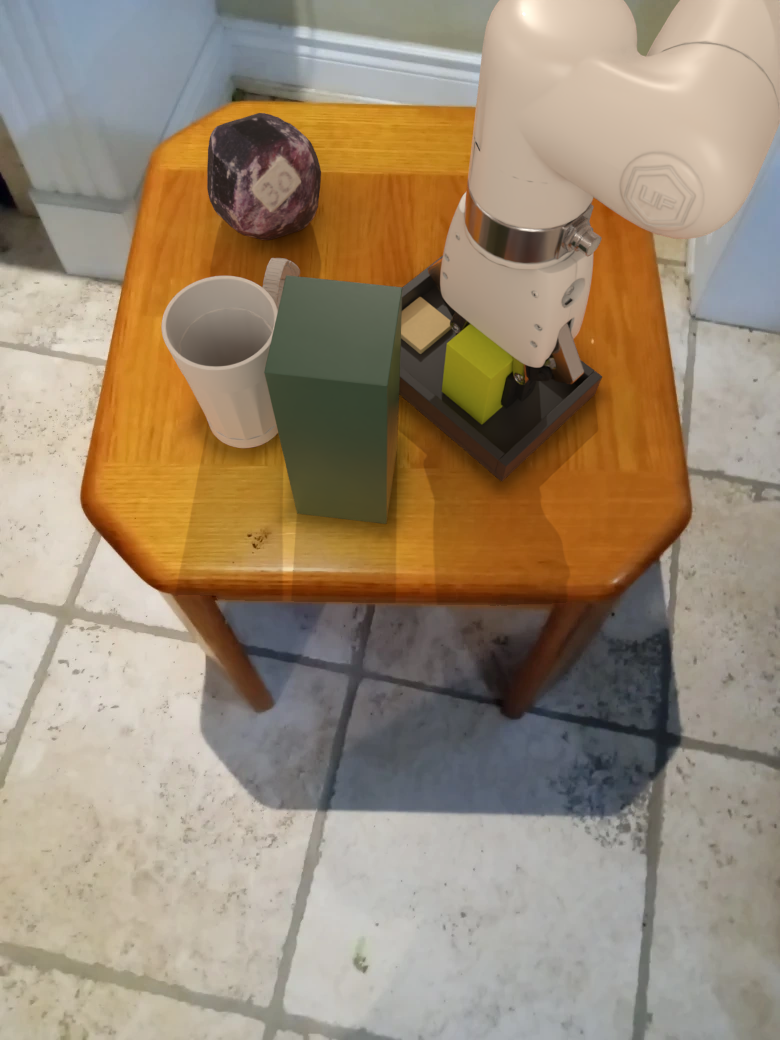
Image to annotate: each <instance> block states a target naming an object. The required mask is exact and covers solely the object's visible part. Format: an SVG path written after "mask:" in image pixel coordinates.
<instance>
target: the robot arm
mask: <svg viewBox="0 0 780 1040" xmlns="http://www.w3.org/2000/svg"><path fill="white" fill-rule="evenodd" d="M482 42H483V43H482V48H481V49H482V50H481V58H480V67H479V77H478V83H477V84H478V85H477V94H476V102H475V110H474V122H473V130H472V139H471V146H470V147H471V148H470V156H469V166H468V172H467V173H468V174H467V183H466V191H465V192H464V194H463V195H462V196H461V198H460V200H459V202H458V204H457V207H456V209H455V211H454V214H453V217H452V219H451V221H450V225H449V228H448V231H447V235H446V239H445V243H444V247H443V253H442V256H443V258H442V259H440V260H438V259H437V260H438V261H437V262H436V263H435V264H433V263H432V264H433V265H432V266H431V267H430V268H429V269H428V273H429V275H430V276H431V278H432V279H433V281H434V283H435V284H436V286H437V287H438V289H439V290H440V291H441V294H442V299H443V302H444V303H445V305H446V306H447V308H448V310H449V312H450V314H451V316H452V319H451V321H450V327H451V329H452V330H453V331H454V332H455V333H456V335H457V334H459V333H460V332H461V331H462V330H463V329H464V328H466V327H467V326H468V325H469V324H472V325H473V326H474V327H475V328H477V329H478V330H479V331H481V332H482V333H483V334H484V335H486V336H487V337H488V338H489V339H491V340H492V341H493V342H495V343H496V344H497V345H498V346H500V347H501V348H502V349H504V350H505V351H506V352H507V353H509V354H510V355H511V356H512V362H513V371H512V372H511V373H510V374H509V375H508V376H507V378H506V381H505V385H504V390H503V394H502V398H501V405H502V406H503V407H505V408H506V409H507V408H508V407H509V406H510V405H512V404H513V403H514V402H515V401H516V400H517V399H519V400H520V401H521V402H522V401H524V400H525V399H526V398H527V397H528V396H529V395H530V394H531V393H532V392H533V390H534V388H535V384H536V381H549V380H550V379H553V380H554V381H556V382H561V383H566V384H573V383H574V382H575V381H576V380H577V379H578V378H579V377H580V376H581V375H582V374H583V373H584V369H583V367H582V364H581V361H582V360H581V357H580V354H579V352H578V349H577V346H576V343H575V340H574V339H575V338H576V337H577V336H578V334H579V333H580V330H581V328H582V325H583V322H584V317H585V313H586V310H587V306H588V301H589V296H590V291H591V286H592V279H593V269H594V252H596V250H597V249H598V248H599V245H600V244H601V241H602V236H600V235H599V234H598V233H597V232H594V228H593V227H592V226H591V225H592V224H591V222H590V221H591V218H592V213H593V210H594V207H595V206H594V205H593V201H594V199H595V200H597V201H599V202H600V203H601V204H603V205H604V206H605V207H606V208H608V209H610V210H611V211H613V212H614V213H616V214H617V215H619V216H620V217H622V218H623V219H625V220H627V221H628V222H630V223H632V224H633V225H635V226H637V227H638V228H640V229H643V230H645V231H647V232H649V233H652V234H655V235H657V236H662V237H666V238H670V239H675V240H689V239H690V240H691V239H698V238H701V237H704V236H707V235H711V234H713V233H714V232H716V231H718V230H719V229H721V228H723V227H724V226H725V225H726V224H728V222H730V221H731V220H733V218H734V217H735V216H736V215H737V213H738V212H739V211H741V208H742V207H743V205H744V204H745V202H746V200H747V198H748V197H749V195H750V193H751V191H752V189H753V187H754V186H755V183H756V180H757V178H758V176H759V173H760V171H761V169H762V166H763V165H764V162H765V160H766V158H767V155H768V153H769V151H770V148H771V146H772V143H773V141H774V139H775V136H776V133H777V131H778V129H779V126H780V0H679V1H678V2H677V4H676V5H675V6H674V8H673V9H672V10H671V12H670V14H669V15H668V17H667V19H666V20H665V22H664V24H663V25H662V27H661V28H660V31H658V33H657V35H656V36H655V39H654V40H653V42H652V44H651V46H650V47H649V50H648V51H647V54H646V55H643V54H641V53H640V52H639V51H638V31H637V23H636V20H635V17H634V15H633V12H632V10H631V9H630V7H629V5H628V4H627V2H626V1H625V0H498V1H497V2H496V4H495V5H494V7H493V9H492V11H491V12H490V15H489V17H488V20H487V22H486V25H485V30H484V38H483V41H482ZM551 353H552V355H551ZM580 360H581V361H580Z"/></svg>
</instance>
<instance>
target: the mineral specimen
mask: <svg viewBox="0 0 780 1040" xmlns="http://www.w3.org/2000/svg"><path fill="white" fill-rule="evenodd" d="M206 167H207V169H206V173H207V174H206V175H207V177H206V178H207V179H206V181H207V182H206V183H207V184H206V189H207V195H208V199H209V202H210V204H211V206H212V208H213V210H214V212H215V213H216V214H217V215H218V216H219V217H220V218H221V219H222V220H223V221H224V222H225V223H227V225H228V226H229V227H231V228H232V229H233V230H234V231H236V232H237V233H239V234H240V235H243V236H245V237H250V238H254V239H257V240H260V241H261V240H262V241H271V240H274V239H278V238H281V237H285V236H288V235H291V234H294V233H297V232H300V231H302V230H303V229H304V230H305V228H306V227H307V226H309V224H310V223H311V222H312V221H313V220H314V218H315V217H316V213H317V210H318V208H319V199H320V191H321V181H322V171H321V165H320V162H319V157H318V155H317V152H316V150H315V148H314V145H313V144H312V142H311V141H310V140H309V138H308V137H306V136H305V134H303V133H302V132H301V131H300V130H299V129H298V128H297V127H295V126H294V125H293V124H292V123H290V122H287V121H285V120H283V119H282V118H280V117H279V116H276V115H273V114H270V113H266V112H257V113H253V114H250V115H248V116H245V117H241V118H237V119H233V120H231V121H228V122H224V123H222V124H219V125H216V127H214V129H212V132H211V133H210V136H209V140H208V146H207V165H206Z"/></svg>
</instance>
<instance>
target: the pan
mask: <svg viewBox="0 0 780 1040" xmlns="http://www.w3.org/2000/svg"><path fill="white" fill-rule="evenodd" d="M442 258H443V255H441V256H440V257H439V258H438V259H436V260H435V261H433V262H432V263H431V264H430V265H429V266H427V267H426V268H425V269H424V270H422V271H421V272H420V273H418V274H417V275H416V276H415V277H413V278H412V279H411V280H410V281H408V282H407V283H406V284H404V285H403V286H401V287H402V310H404V309H405V308H406V307H407V306H409V305H410V304H411V303H412V302H414V301H415V300H416V299H417V298H419V297H421V298H423V299H424V300H425V301H426V302H428V303H429V304H430V305H431V306H433V307H434V308H435V309H436V310H438V311H439V312H440V313H442V314H443V315H444V316H445V317H447V318H448V319H449V320H450V321H451V319H452V316H451V314H450V312H449V310H448V308H447V306H446V305H445V303H444V302H443V299H442V294H441V291H440V290H439V289H438V287H437V286H436V284H435V283H434V281H433V279H432V278H431V276H430V275H429V273H428V269H429V268H430V267H431V266H432V265H433V264H435V263H436V262H437V261H438V260H440V259H442ZM455 336H456V333H455V332H454V331H453V330H452V329H450V330H449V331H448V332H447V333H446V334H444V335H443V336H442V337H441V338H440V339H438V340H437V341H436V342H435V343H434V344H432V345H431V346H430V347H429V348H428V349H426V350H425V351H424V352H423V353H422V354H420V353H418V352H417V351H416V350H415V349H413V348H412V347H411V346H410V345H409V344H407V343H406V342H405V341H404V340H403V339H401V350H400V383H399V396H400V397H402V398H403V399H404V400H405V401H406V402H407V403H408V404H410V406H412V407H413V408H415V409H416V410H417V411H418V412H419V413H420V414H422V416H424V417H425V418H426V419H427V420H428V421H430V422H431V423H432V424H433V425H434V426H435V427H437V428H438V429H439V430H440V431H441V432H443V433H444V434H445V435H446V436H447V437H449V438H450V439H451V440H452V441H453V442H454V443H456V444H457V445H458V446H459V447H460V448H461V449H463V450H464V451H465V452H466V453H467V454H468V455H469V456H471V457H472V458H473V459H474V460H475V461H476V462H478V463H479V464H480V465H481V466H483V467H484V468H485V469H486V470H487V471H488V472H489V473H491V474H492V475H493V476H494V477H495V478H496V479H498V480H499V481H500V482H502V483H503V481H505V479H507V478H508V477H509V476H510V475H511V474H512V473H513V472H514V471H515V470H516V469H517V468H519V466H520V465H521V464H523V462H524V461H526V460H527V459H528V458H529V457H530V456H531V455H532V454H533V453H535V451H536V450H537V449H539V448H540V446H542V445H543V444H544V443H545V442H546V441H547V440H548V439H549V438H550V437H551V436H552V435H553V434H554V433H555V432H557V430H559V429H560V428H561V427H562V426H563V425H564V424H565V423H566V422H568V420H569V419H571V417H572V416H574V415H575V414H576V412H578V411H579V410H580V409H581V408H582V407H583V406H584V405H585V404H586V403H588V402H589V401H590V400H591V399H592V398H594V396H595V395H596V394H597V391H598V387H599V386H600V384H601V381H602V379H603V376H602V375H601V374H600V373H598V372H597V371H596V370H595V369H593V368H592V367H591V366H589V365H588V364H587V363H586V362H584V361H583V360H581V359H580V361H581V364H582V367H583V369H584V373H583V374H582V375H581V376H580V377H579V378H578V379H577V380H576V381H575V382H574V383H573V384H566V383H561V382H556V381H554V380H553V379H550V380H549V381H536V384H535V388H534V390H533V392H532V393H531V394H530V395H529V396H528V397H527V398H526V399H525V400H524V401H522V402H521V401H520V400H519V399H517V400H516V401H515V402H514V403H513V404H512V405H510V406H509V407H508V408H507V409H506V408H505V407H503V406H502V407H501V408H500V409H499V410H498V411H497V412H496V413H495V414H493V415H492V416H491V417H490V418H489V419H488V420H487V421H486V422H485V423H483V424H482V425H481V424H480V423H479V422H478V421H477V420H475V419H474V418H473V417H472V416H471V415H469V414H468V413H467V412H466V411H465V410H463V409H462V408H461V407H460V406H459V405H457V404H456V403H455V402H454V401H453V400H451V399H450V398H449V397H448V396H447V395H445V394H444V393H443V392H442V383H443V374H444V365H445V356H446V347H447V343H448V342H449V341H450V340H451V339H453V338H454V337H455ZM551 355H552V353H551Z"/></svg>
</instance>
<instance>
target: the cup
mask: <svg viewBox="0 0 780 1040" xmlns="http://www.w3.org/2000/svg"><path fill="white" fill-rule="evenodd" d="M262 287H263V286H261V285H260V284H258V283H257V282H254V281H252V280H251V279H247V278H244V277H240V276H236V275H235V276H234V275H215V276H209V277H204V278H201V279H199V280H196V281H194V282H192V283H190V284H188V285H186V286H185V287H183V288H182V289H181V290H179V291H178V292H177V293H176V294H175V295H174V296H173V297H172V299H171V300H170V301H169V303H168V304H167V306H166V307H165V309H164V312H163V315H162V318H161V319H162V320H161V335H162V339H163V342H164V344H165V346H166V348H167V350H168V351H169V353H170V355H171V356H172V358H173V360H174V361H175V363H176V365H177V368H178V369H179V371H180V372H181V374H182V375H183V376H184V378H185V380H186V382H187V385H188V386H189V388H190V389H191V391H192V393H193V395H194V397H195V399H196V401H197V403H198V405H199V406H200V408H201V410H202V412H203V414H204V416H205V418H206V421H207V423H208V427H209V428H210V431H211V433H212V434H213V436H215V438H217V439H218V440H219V441H220V442H222V443H223V444H225V445H227V446H230V447H233V448H239V449H250V448H256V447H260V446H262V445H265V444H266V443H268V442H269V441H271V440H272V439H273V438H275V437H276V436H277V435H278V430H277V425H276V421H275V417H274V412H273V408H272V404H271V399H270V395H269V391H268V386H267V382H266V378H265V374H264V371H265V366H266V362H267V357H268V353H269V348H270V344H271V340H272V335H273V331H274V326H275V322H276V317H277V313H278V310H277V307H276V304H275V302H274V300H273V299H272V297H271V296H270V295H269V293H268V292H267V291H266V290H265V289H263V288H262Z"/></svg>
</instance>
